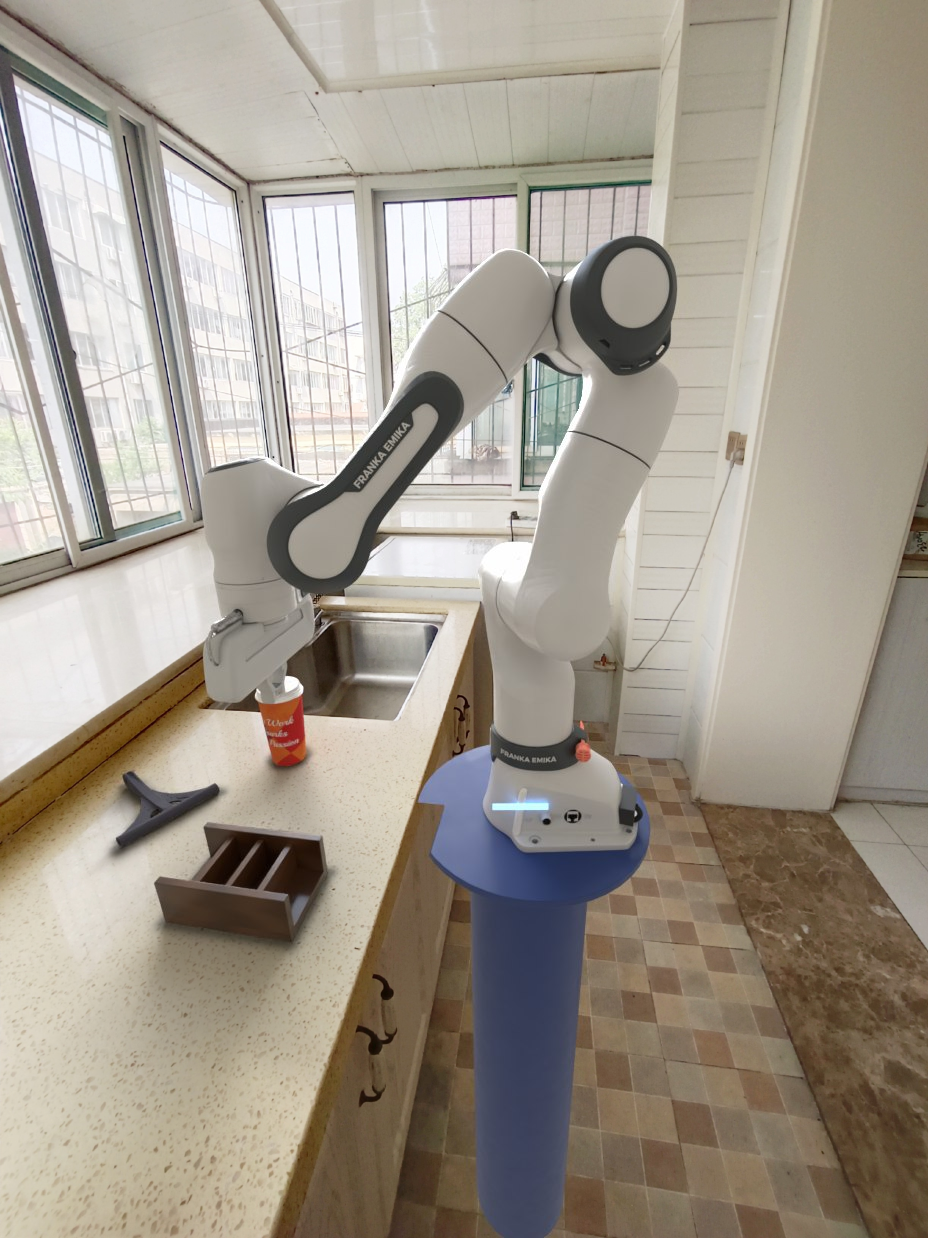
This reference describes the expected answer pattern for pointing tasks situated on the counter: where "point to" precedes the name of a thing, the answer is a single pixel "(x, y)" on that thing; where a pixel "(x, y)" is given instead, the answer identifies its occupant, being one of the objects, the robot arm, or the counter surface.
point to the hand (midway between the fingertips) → (274, 698)
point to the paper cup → (285, 724)
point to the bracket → (158, 806)
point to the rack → (248, 882)
